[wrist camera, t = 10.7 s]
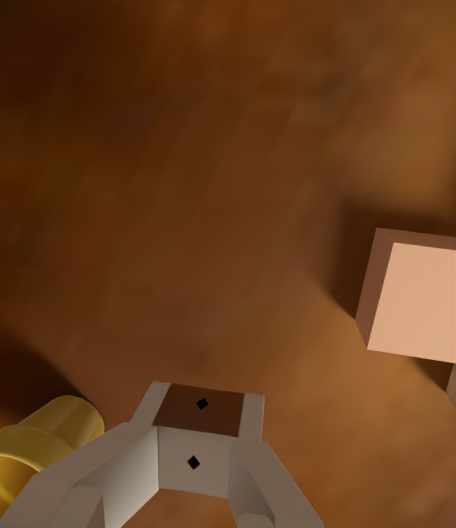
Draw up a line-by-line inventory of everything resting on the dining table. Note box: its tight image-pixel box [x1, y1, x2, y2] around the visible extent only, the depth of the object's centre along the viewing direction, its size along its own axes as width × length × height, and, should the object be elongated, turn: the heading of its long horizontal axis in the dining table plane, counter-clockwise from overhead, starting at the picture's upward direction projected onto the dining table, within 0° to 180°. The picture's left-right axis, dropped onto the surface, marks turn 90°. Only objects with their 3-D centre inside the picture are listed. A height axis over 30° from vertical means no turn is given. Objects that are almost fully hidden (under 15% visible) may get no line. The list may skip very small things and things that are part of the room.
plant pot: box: [0, 395, 104, 518], centre depth 34 cm, size 10×10×10 cm
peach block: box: [355, 227, 456, 363], centre depth 27 cm, size 8×8×5 cm
